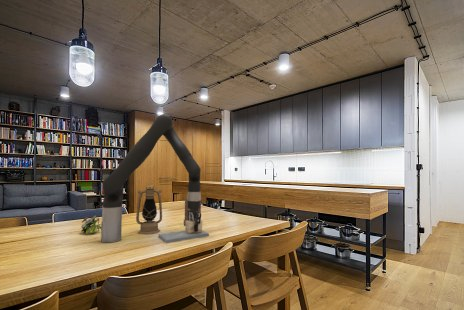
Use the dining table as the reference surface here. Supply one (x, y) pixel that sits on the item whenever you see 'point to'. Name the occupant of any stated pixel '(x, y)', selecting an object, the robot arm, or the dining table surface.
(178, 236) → the slate board
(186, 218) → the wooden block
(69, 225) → the dining table surface
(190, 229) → the sanding block
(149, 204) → the lantern
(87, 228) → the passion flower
